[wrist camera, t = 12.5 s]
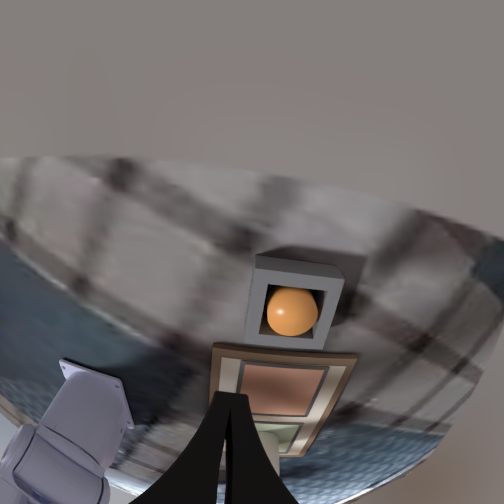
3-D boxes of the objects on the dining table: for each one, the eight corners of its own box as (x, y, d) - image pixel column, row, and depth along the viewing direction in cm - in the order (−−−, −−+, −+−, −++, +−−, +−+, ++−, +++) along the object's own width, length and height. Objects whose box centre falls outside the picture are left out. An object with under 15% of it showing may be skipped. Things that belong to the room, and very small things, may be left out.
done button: (307, 322, 19) (310, 337, 17) (263, 318, 19) (263, 333, 17) (317, 283, 18) (323, 296, 16) (270, 278, 18) (272, 291, 16)
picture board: (302, 452, 27) (303, 457, 27) (207, 446, 27) (206, 451, 26) (355, 354, 21) (358, 360, 20) (213, 342, 21) (212, 349, 20)
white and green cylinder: (273, 448, 25) (273, 507, 18) (241, 444, 25) (236, 504, 17) (283, 433, 24) (286, 498, 16) (249, 429, 24) (245, 496, 16)
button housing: (316, 331, 20) (322, 349, 18) (244, 324, 20) (243, 342, 18) (335, 265, 18) (344, 279, 16) (255, 255, 18) (255, 268, 16)
